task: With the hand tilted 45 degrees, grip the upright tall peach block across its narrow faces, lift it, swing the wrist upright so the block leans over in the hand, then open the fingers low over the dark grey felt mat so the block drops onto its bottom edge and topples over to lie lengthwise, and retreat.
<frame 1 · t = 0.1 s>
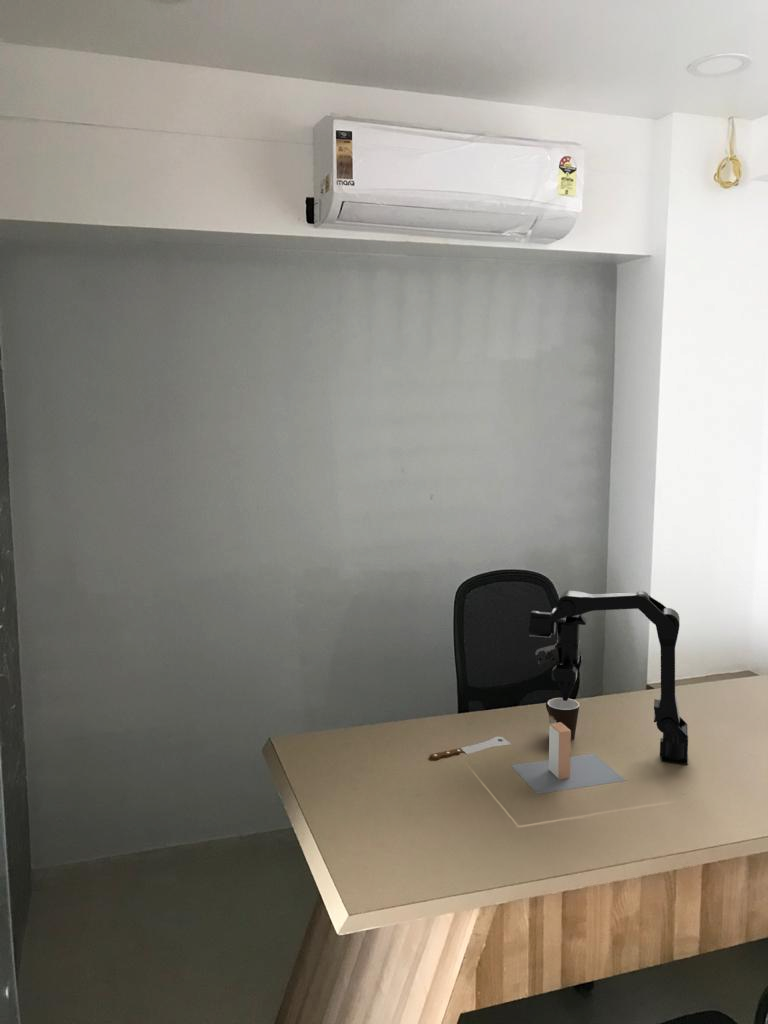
hand: (567, 694, 235), 15 cm above the table, tool pointing down, fingers open, 9 cm apart
coffee mug: (561, 736, 244), on the table
felt mat: (567, 774, 221), on the table
tall peach block: (559, 773, 220), resting on felt mat
kitchen cleaver: (473, 755, 234), on the table
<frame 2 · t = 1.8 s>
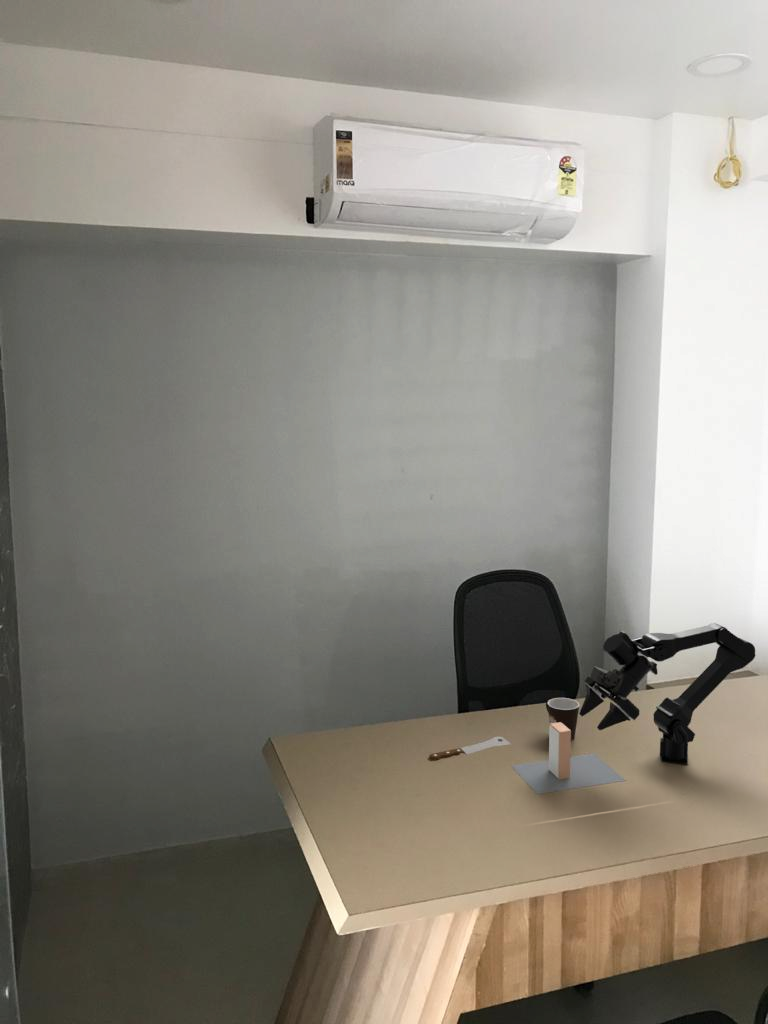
hand: (589, 722, 220), 13 cm above the table, tool tilted 45°, fingers open, 9 cm apart
nothing on the table moved.
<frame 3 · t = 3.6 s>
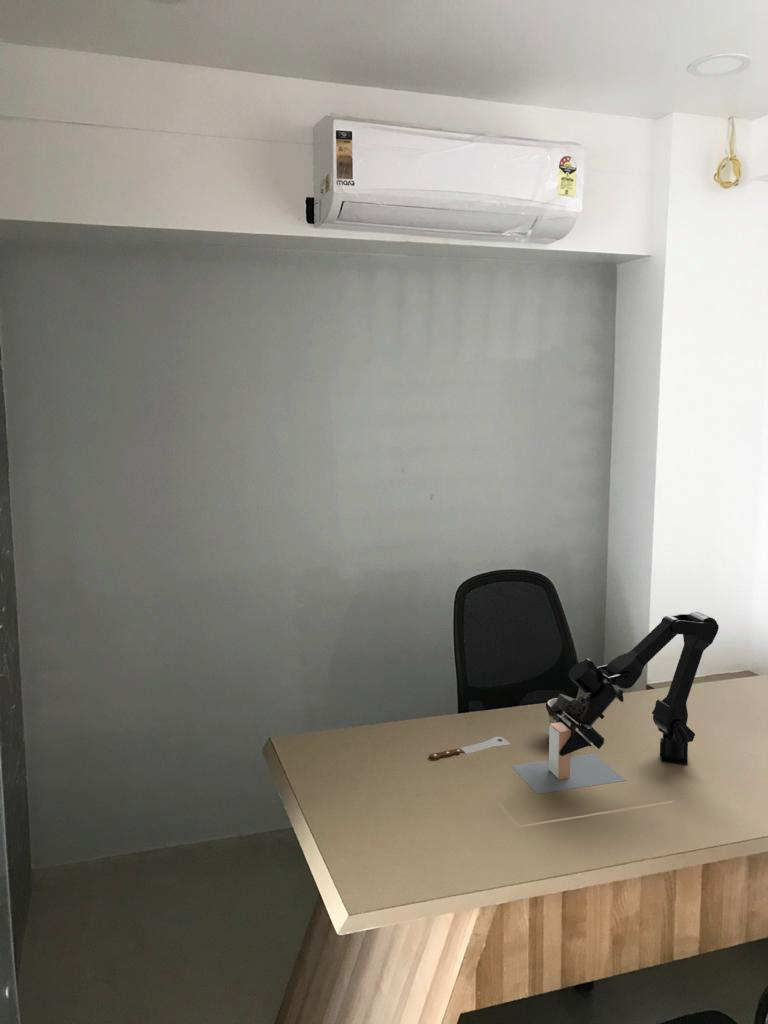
hand: (554, 749, 218), 7 cm above the table, tool tilted 45°, fingers closed on tall peach block, 5 cm apart
tall peach block: (559, 773, 220), resting on felt mat, touching gripper
everything else where it was.
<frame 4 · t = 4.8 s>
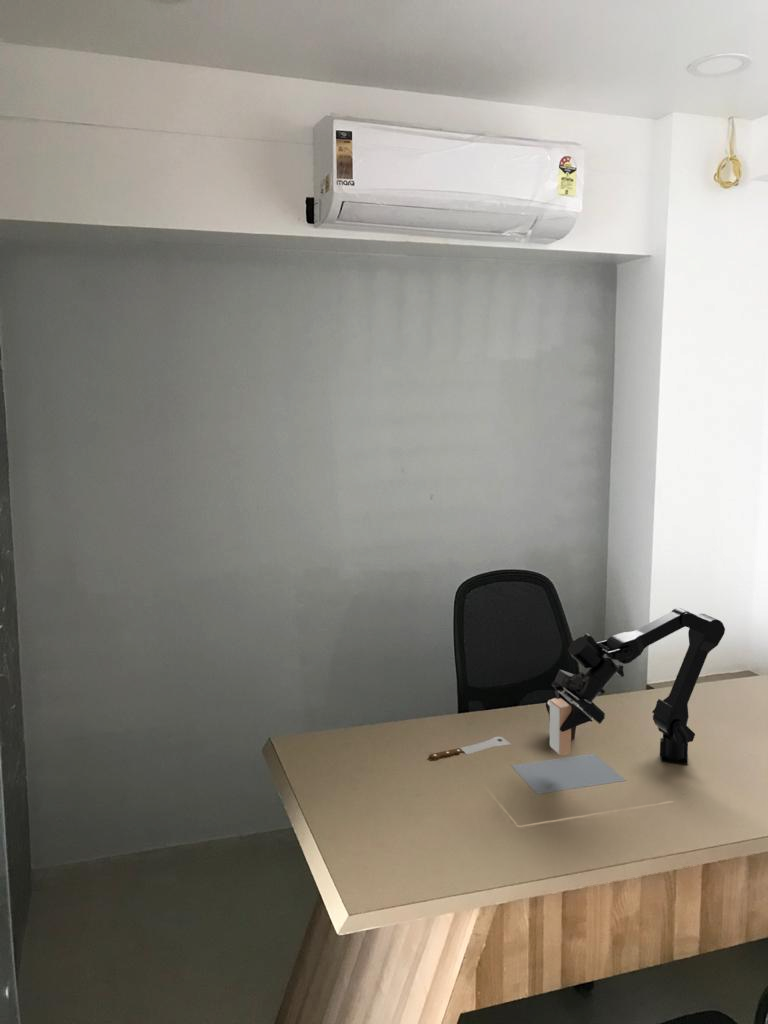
hand: (555, 726, 217), 13 cm above the table, tool tilted 45°, fingers closed on tall peach block, 5 cm apart
tall peach block: (560, 750, 219), point 7 cm above the table, touching gripper
everything else where it was.
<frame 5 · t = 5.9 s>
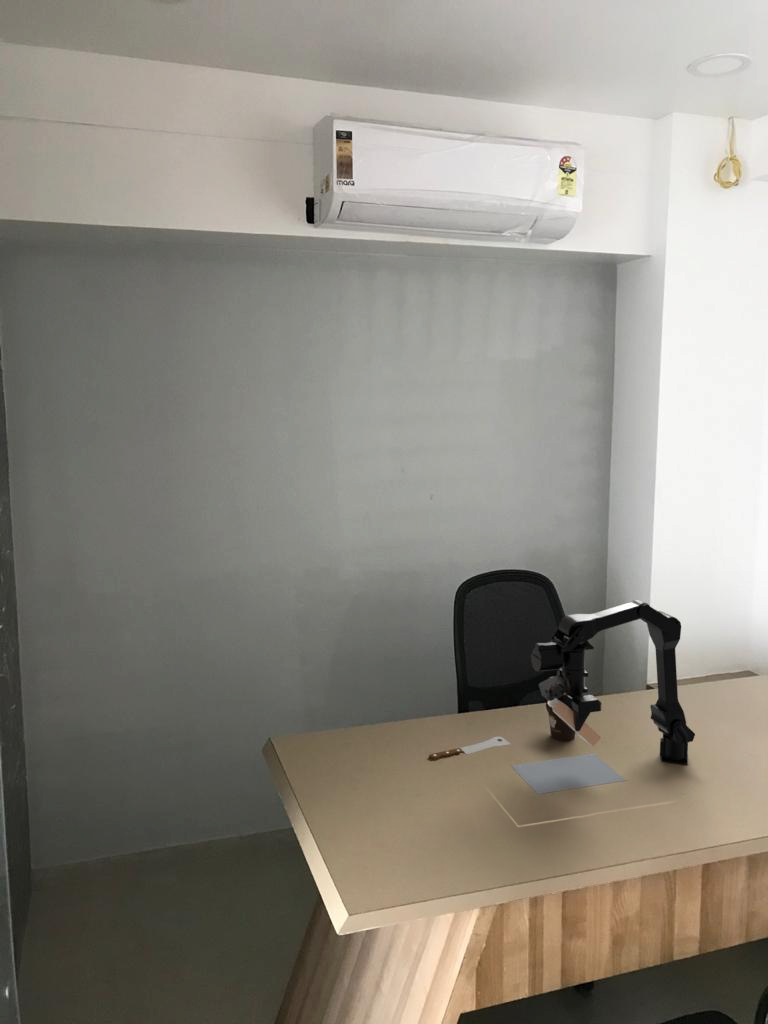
hand: (571, 726, 219), 13 cm above the table, tool pointing down, fingers closed on tall peach block, 5 cm apart
tall peach block: (591, 737, 221), point 9 cm above the table, tilted 45°, touching gripper
everything else where it was.
when the fingers open (7 cm above the table, at t = 7.1 s): tall peach block moves 2 cm and tips over, resting on felt mat.
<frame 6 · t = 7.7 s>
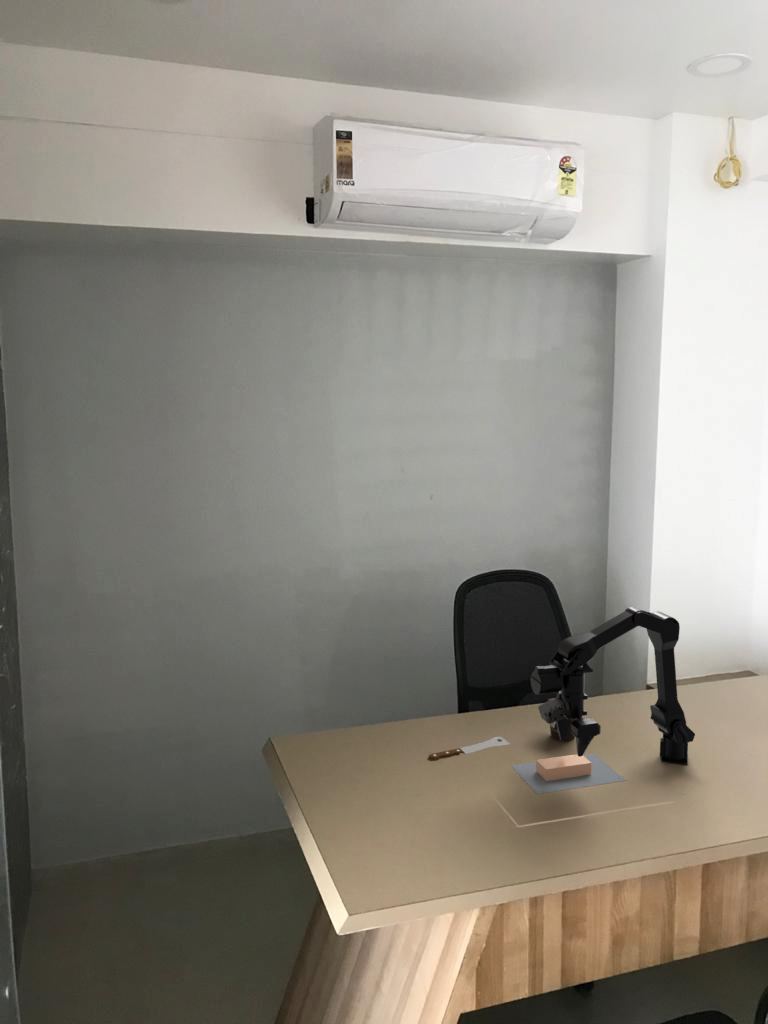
hand: (571, 748, 220), 7 cm above the table, tool pointing down, fingers open, 9 cm apart
tall peach block: (585, 763, 221), point 2 cm above the table, tilted 90°, touching felt mat
everything else where it was.
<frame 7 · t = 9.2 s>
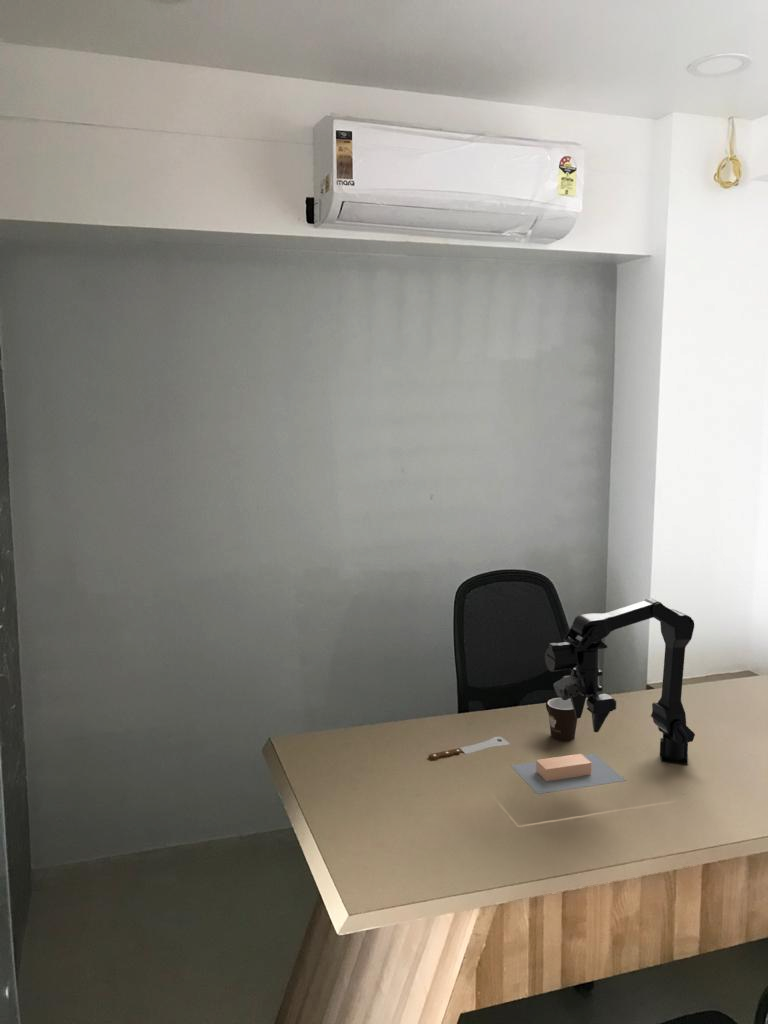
hand: (587, 724, 220), 12 cm above the table, tool pointing down, fingers open, 9 cm apart
nothing on the table moved.
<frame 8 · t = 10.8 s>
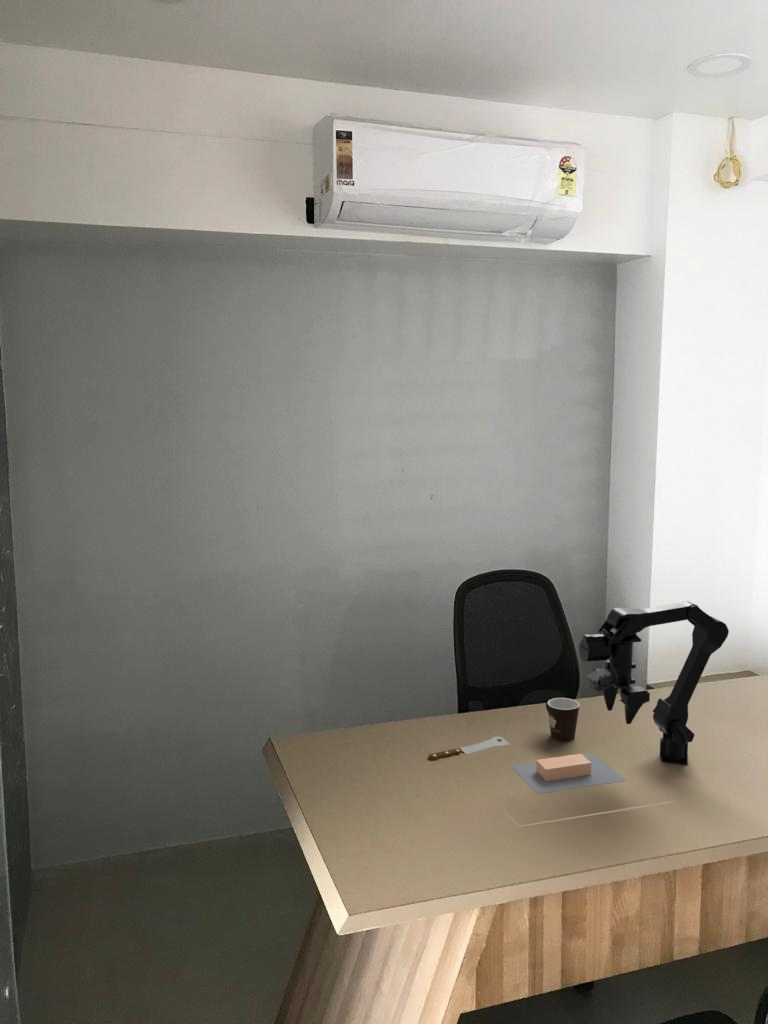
hand: (618, 716, 223), 13 cm above the table, tool pointing down, fingers open, 9 cm apart
nothing on the table moved.
at the end: tall peach block tilted 90°; tall peach block inside the target area (5.8 cm from its centre), point 2.1 cm above the table; the gripper is holding nothing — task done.
